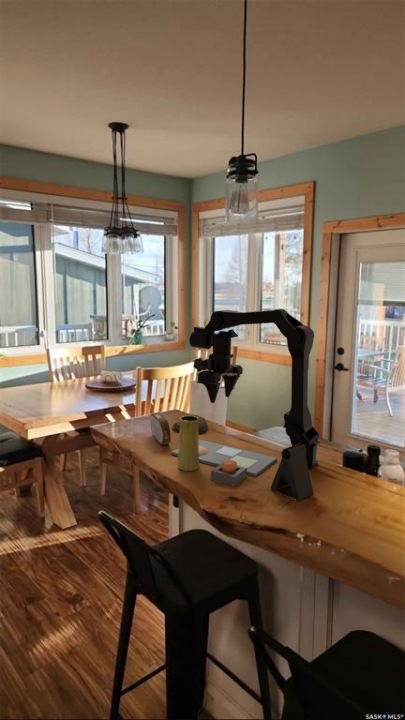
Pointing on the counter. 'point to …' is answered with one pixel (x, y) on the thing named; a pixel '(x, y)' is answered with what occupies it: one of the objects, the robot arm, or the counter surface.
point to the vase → (188, 443)
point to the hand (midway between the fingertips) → (220, 399)
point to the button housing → (228, 475)
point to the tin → (160, 428)
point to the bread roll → (202, 425)
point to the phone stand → (293, 474)
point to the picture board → (232, 457)
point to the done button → (229, 466)
